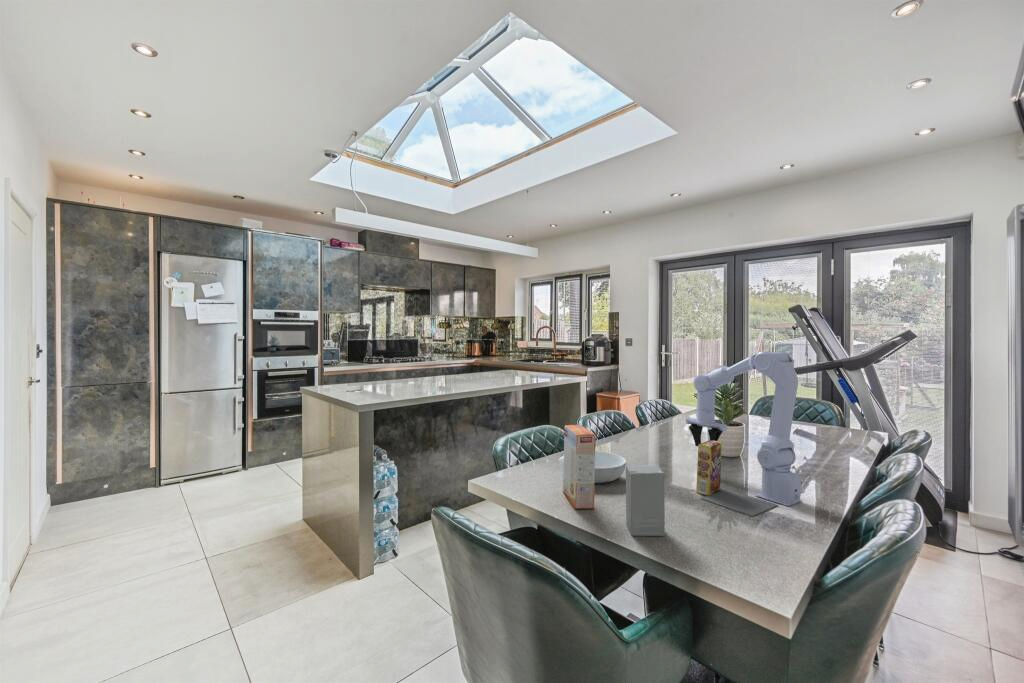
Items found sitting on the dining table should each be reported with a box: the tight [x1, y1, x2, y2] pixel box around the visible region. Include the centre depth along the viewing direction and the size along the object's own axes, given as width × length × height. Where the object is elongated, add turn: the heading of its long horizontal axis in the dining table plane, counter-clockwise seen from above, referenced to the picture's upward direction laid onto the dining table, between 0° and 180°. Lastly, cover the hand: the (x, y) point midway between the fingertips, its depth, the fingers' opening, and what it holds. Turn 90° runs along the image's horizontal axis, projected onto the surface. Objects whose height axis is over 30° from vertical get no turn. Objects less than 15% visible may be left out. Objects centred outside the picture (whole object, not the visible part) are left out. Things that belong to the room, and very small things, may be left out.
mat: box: [700, 488, 779, 517], centre depth 126 cm, size 15×14×1 cm
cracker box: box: [562, 424, 596, 510], centre depth 126 cm, size 14×6×21 cm, turn 7°
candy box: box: [696, 439, 723, 496], centre depth 135 cm, size 9×4×15 cm, turn 134°
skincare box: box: [625, 464, 666, 537], centre depth 106 cm, size 8×7×16 cm
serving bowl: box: [562, 450, 627, 484], centre depth 146 cm, size 21×21×7 cm
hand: (705, 447), depth 152 cm, fingers open, 5 cm apart
